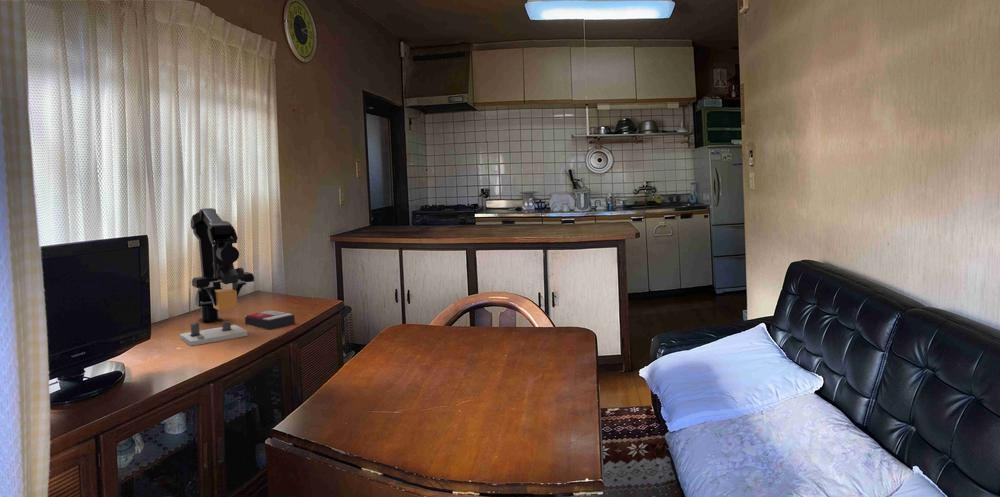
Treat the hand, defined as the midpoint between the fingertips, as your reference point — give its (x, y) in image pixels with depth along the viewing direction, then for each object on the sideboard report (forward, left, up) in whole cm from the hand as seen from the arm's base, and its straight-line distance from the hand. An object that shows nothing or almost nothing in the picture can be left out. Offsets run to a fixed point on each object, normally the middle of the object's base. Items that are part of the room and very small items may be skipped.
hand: (225, 304), depth 199 cm
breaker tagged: (0, 0, -10) cm, 10 cm away
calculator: (-4, +17, -11) cm, 20 cm away
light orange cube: (0, 0, -1) cm, 1 cm away
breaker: (0, -10, -9) cm, 13 cm away
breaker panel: (+1, -4, -10) cm, 11 cm away
